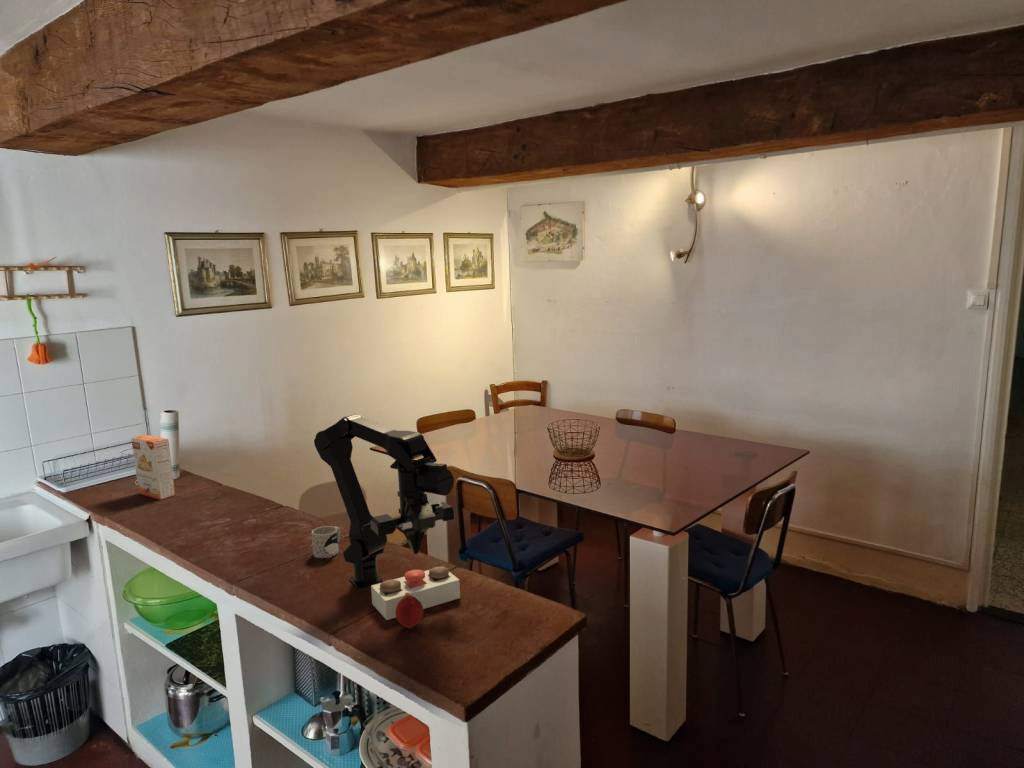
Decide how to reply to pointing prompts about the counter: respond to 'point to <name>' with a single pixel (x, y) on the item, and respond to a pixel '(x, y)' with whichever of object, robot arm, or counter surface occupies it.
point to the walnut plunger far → (438, 573)
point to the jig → (417, 594)
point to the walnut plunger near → (390, 586)
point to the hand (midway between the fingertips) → (415, 553)
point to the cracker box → (153, 466)
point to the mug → (325, 541)
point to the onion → (409, 611)
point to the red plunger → (414, 577)
